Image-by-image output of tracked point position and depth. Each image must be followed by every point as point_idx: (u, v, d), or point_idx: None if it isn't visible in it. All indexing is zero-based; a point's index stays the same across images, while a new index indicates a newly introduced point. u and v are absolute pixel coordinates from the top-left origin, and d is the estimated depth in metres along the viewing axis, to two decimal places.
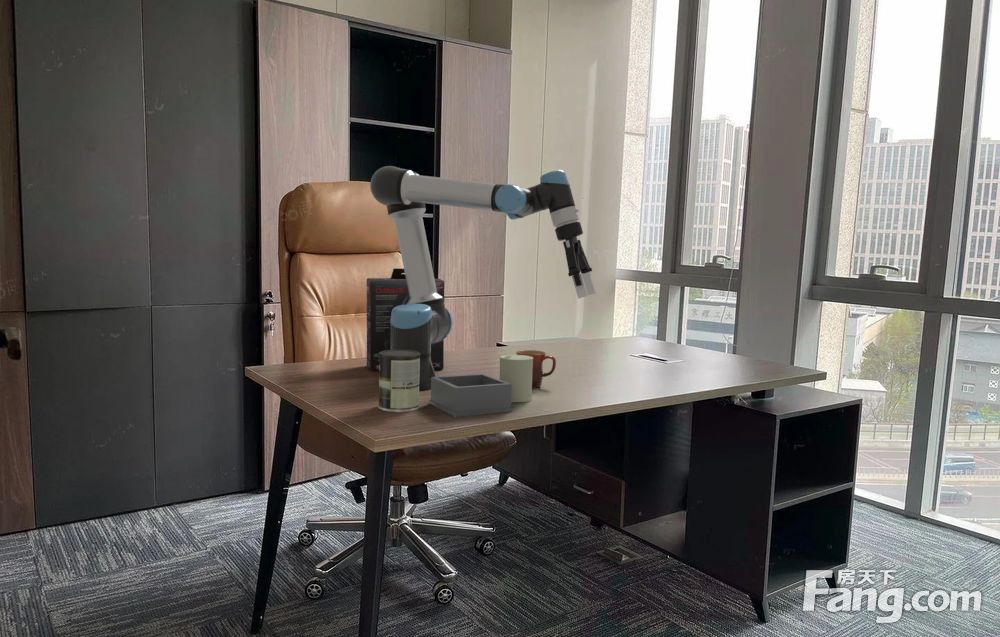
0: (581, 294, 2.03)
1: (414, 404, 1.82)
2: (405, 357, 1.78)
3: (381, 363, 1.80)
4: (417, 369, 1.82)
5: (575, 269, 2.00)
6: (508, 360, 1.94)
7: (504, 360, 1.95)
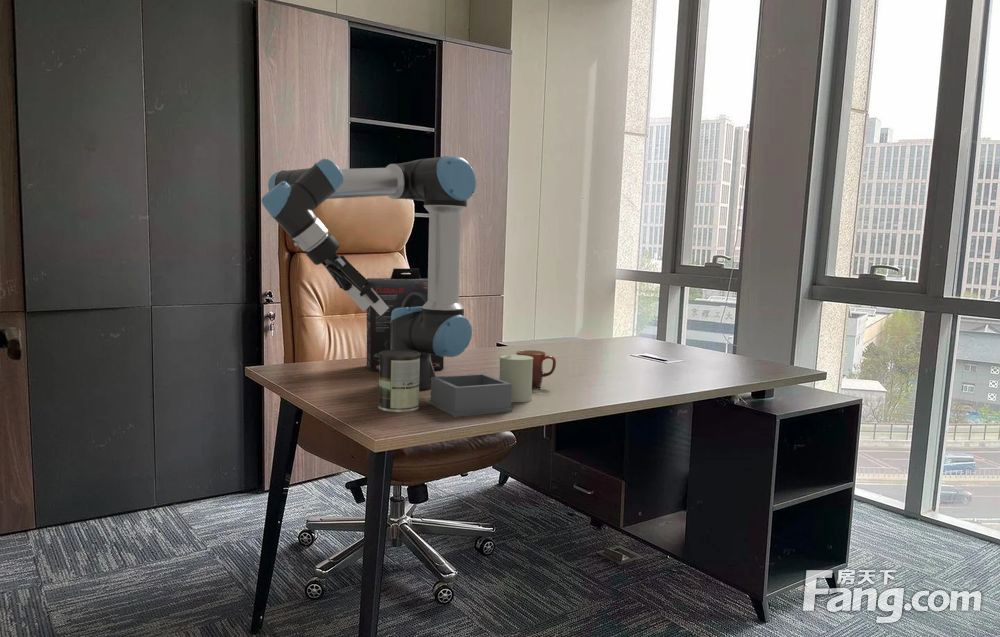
0: None
1: (414, 404, 1.82)
2: (405, 357, 1.78)
3: (381, 363, 1.80)
4: (417, 369, 1.82)
5: None
6: (508, 360, 1.94)
7: (504, 360, 1.95)
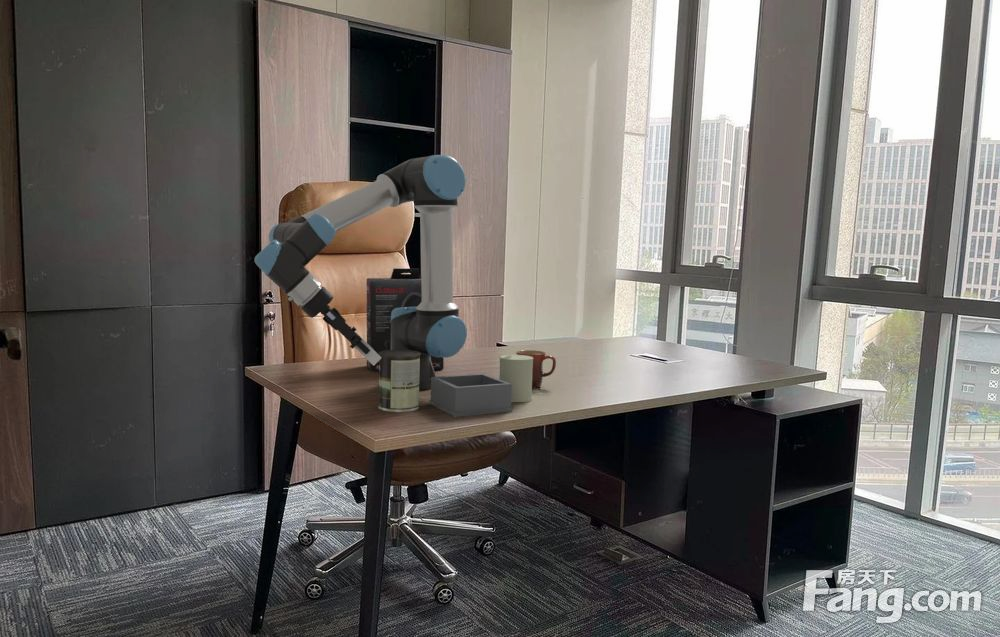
0: None
1: (414, 404, 1.82)
2: (405, 357, 1.78)
3: (381, 363, 1.80)
4: (417, 369, 1.82)
5: None
6: (508, 360, 1.94)
7: (504, 360, 1.95)
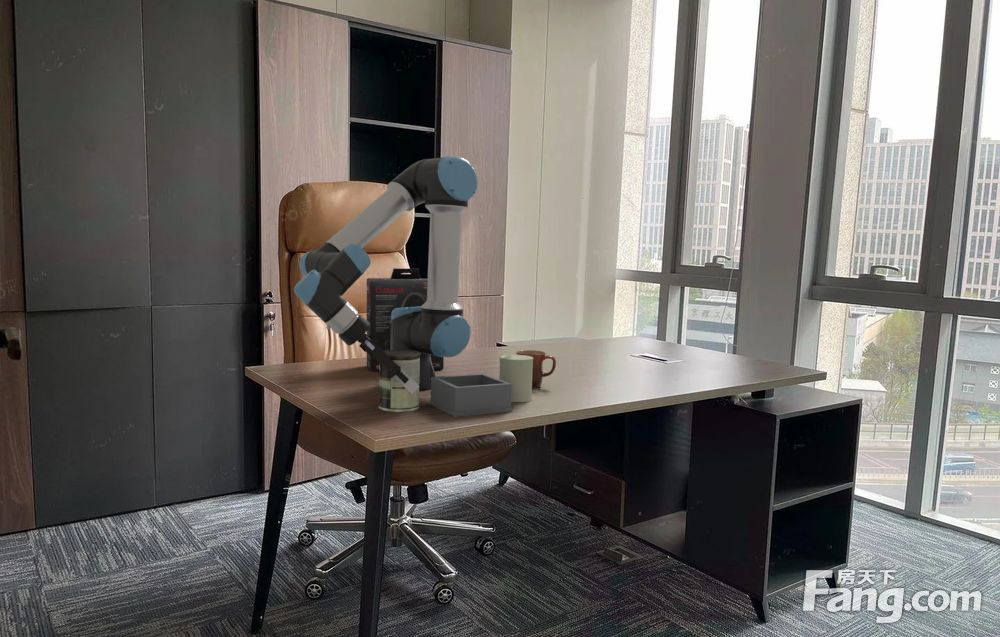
0: None
1: (414, 404, 1.82)
2: (405, 357, 1.78)
3: None
4: (417, 369, 1.82)
5: None
6: (508, 360, 1.94)
7: (504, 360, 1.95)
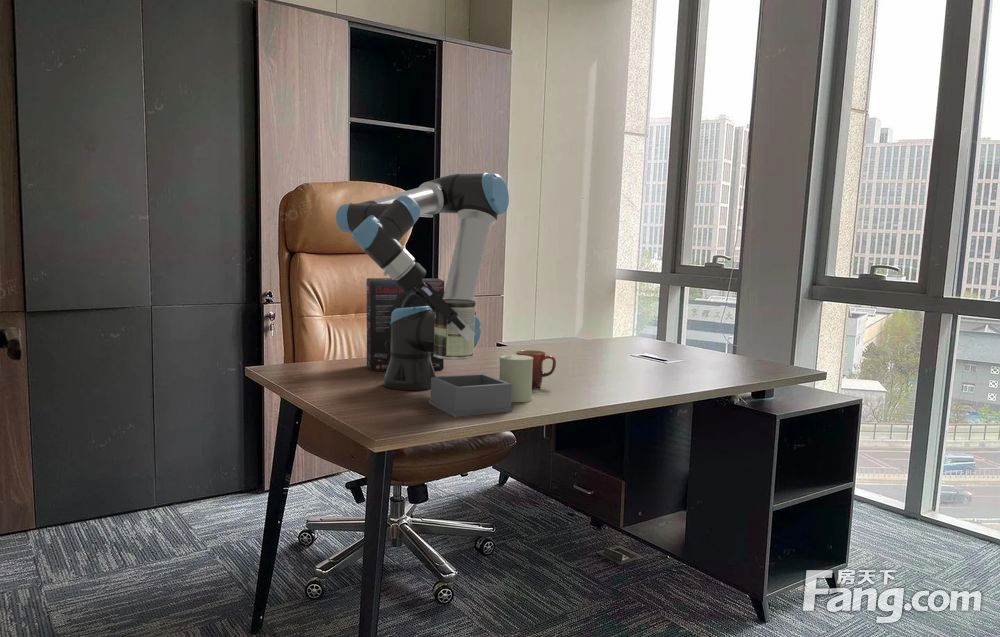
0: None
1: (469, 352, 1.81)
2: (461, 304, 1.78)
3: (437, 310, 1.80)
4: (473, 317, 1.81)
5: None
6: (508, 360, 1.94)
7: (504, 360, 1.95)
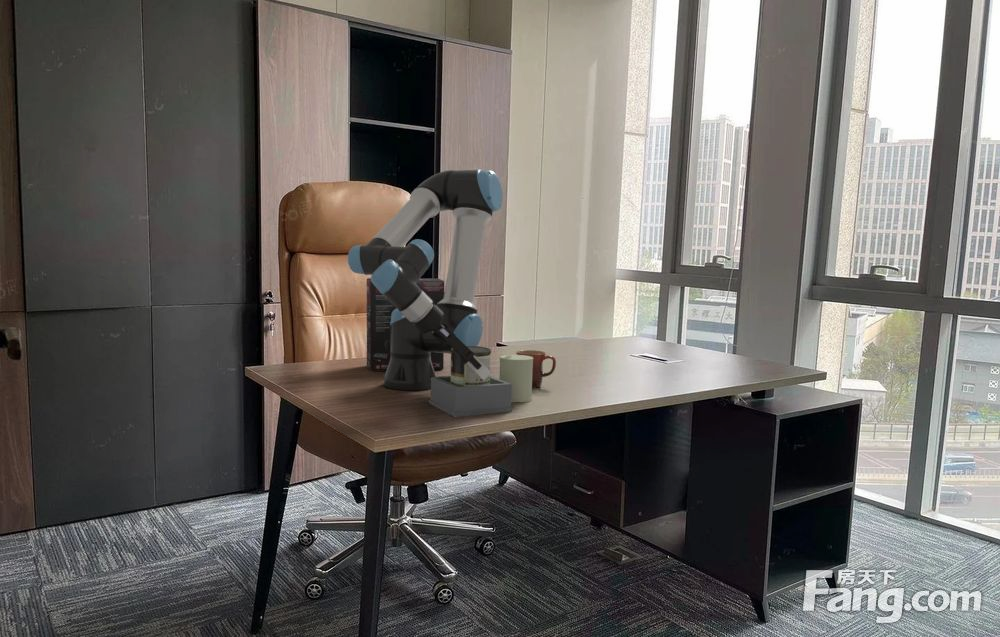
0: None
1: None
2: (478, 353, 1.81)
3: (454, 359, 1.83)
4: (489, 365, 1.85)
5: None
6: (508, 360, 1.94)
7: (504, 360, 1.95)
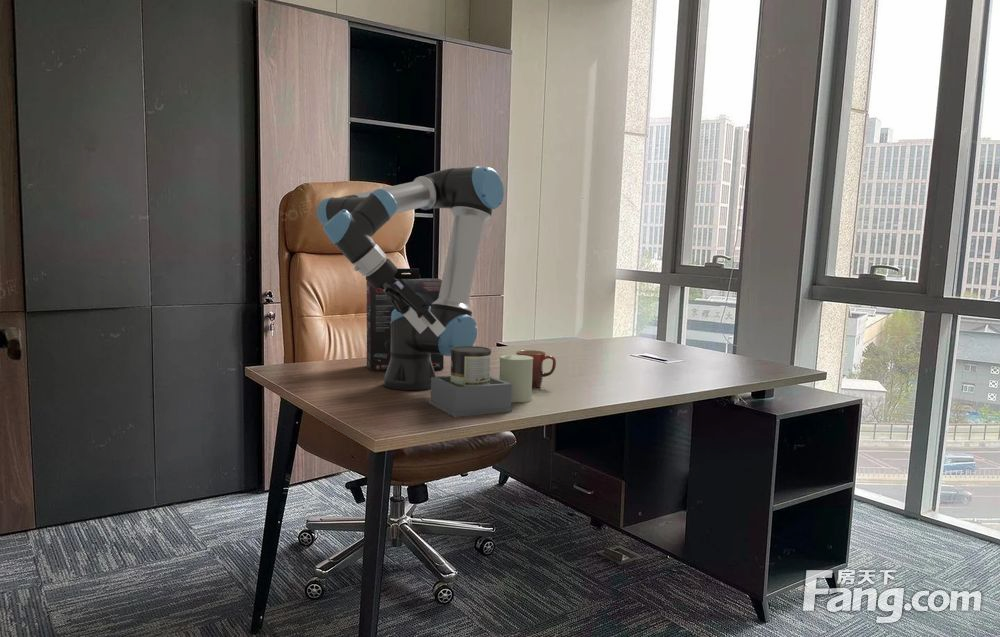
0: None
1: None
2: (478, 353, 1.81)
3: (454, 359, 1.83)
4: (489, 365, 1.85)
5: None
6: (508, 360, 1.94)
7: (504, 360, 1.95)
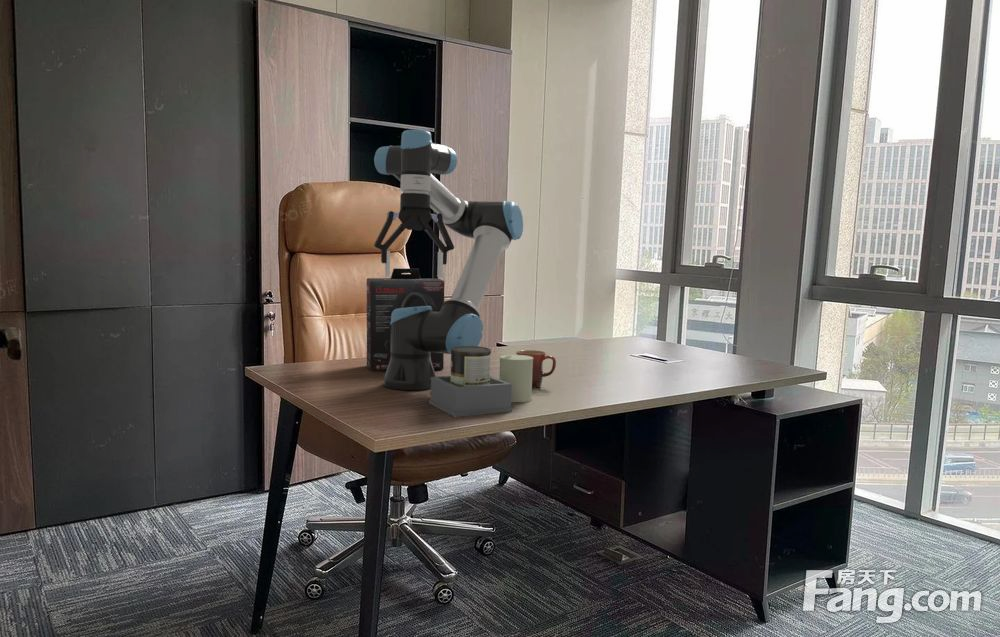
0: (385, 272, 1.85)
1: None
2: (478, 353, 1.81)
3: (454, 359, 1.83)
4: (488, 365, 1.85)
5: (375, 245, 1.82)
6: (508, 360, 1.94)
7: (504, 360, 1.95)
